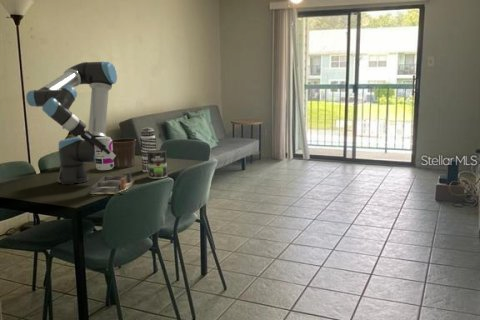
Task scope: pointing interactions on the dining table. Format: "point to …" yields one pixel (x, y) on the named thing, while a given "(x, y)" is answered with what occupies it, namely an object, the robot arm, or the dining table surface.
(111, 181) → the beige shallow tray
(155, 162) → the coffee can
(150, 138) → the decorative candle
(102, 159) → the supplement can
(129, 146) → the plant pot
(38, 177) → the dining table surface
